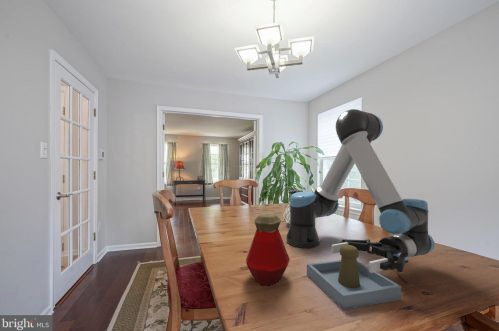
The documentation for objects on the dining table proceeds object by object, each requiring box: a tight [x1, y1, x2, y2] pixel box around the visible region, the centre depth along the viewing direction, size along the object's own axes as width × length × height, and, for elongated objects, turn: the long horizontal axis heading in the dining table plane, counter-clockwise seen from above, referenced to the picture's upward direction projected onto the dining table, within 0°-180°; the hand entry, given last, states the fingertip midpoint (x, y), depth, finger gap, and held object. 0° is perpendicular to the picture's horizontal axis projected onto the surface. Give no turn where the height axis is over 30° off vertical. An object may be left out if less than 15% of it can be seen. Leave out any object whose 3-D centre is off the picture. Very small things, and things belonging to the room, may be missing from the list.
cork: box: [338, 245, 360, 289], centre depth 64 cm, size 6×6×11 cm
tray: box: [306, 259, 402, 311], centre depth 63 cm, size 18×18×4 cm
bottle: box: [245, 212, 291, 287], centre depth 68 cm, size 16×14×20 cm
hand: (349, 257), depth 63 cm, fingers open, 13 cm apart
